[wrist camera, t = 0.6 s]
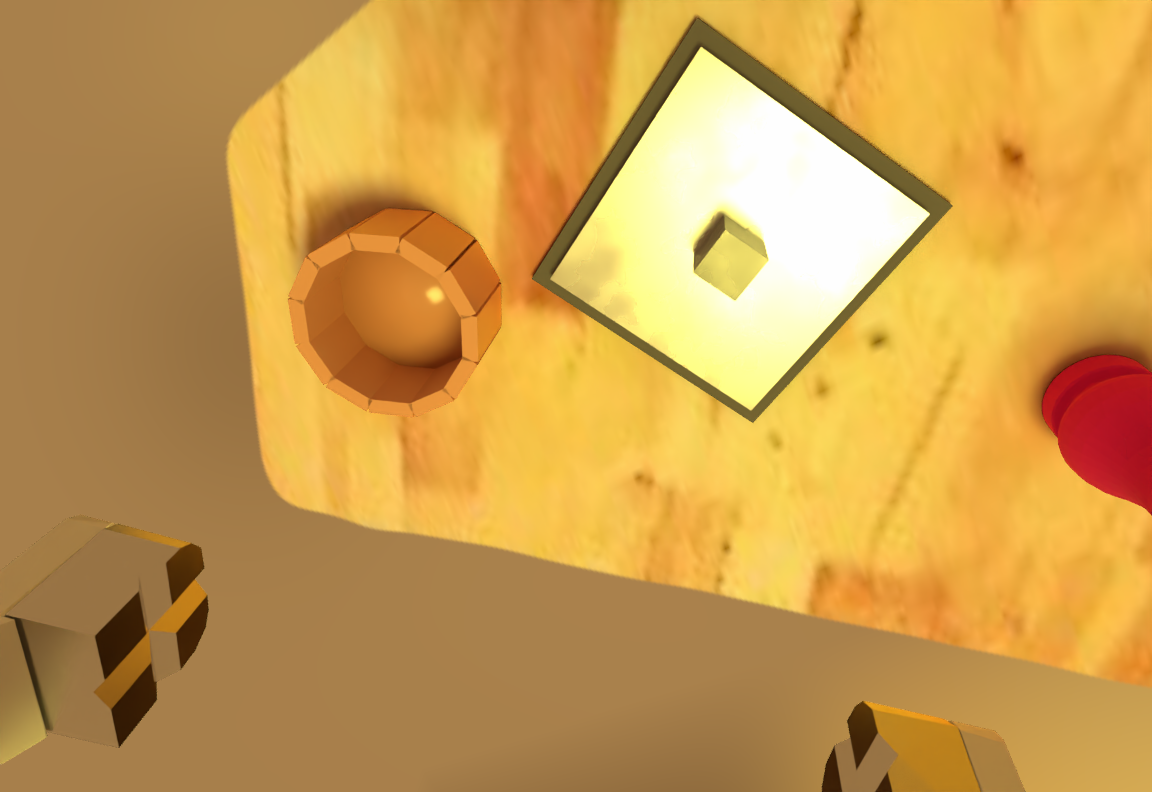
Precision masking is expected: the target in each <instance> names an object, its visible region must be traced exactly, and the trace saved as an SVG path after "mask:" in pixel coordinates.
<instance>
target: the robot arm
mask: <svg viewBox="0 0 1152 792" xmlns="http://www.w3.org/2000/svg"><path fill="white" fill-rule="evenodd" d="M203 569H204V562H203V556H202V550H201V547H199V546H197V545H194V544H192V543H189V542H185V541H181V540H178V539H174V538H170V537H166V536H162V535H159V534H155V533H151V532H147V531H144V530H140V529H136V528H132V527H129V526H125V525H121V524H115V523H111V522H107V521H103V520H99V519H95V518H91V517H88V516H84V515H77V516H74V517H71V518H67V519H65V520H63V521H62V522H61V523H60V524H58V525H57V526H56V527H54V528H53V529H52V530H51V531H49V532H48V533H47V534H46V535H44V536H43V537H42V538H41V539H39V540H38V541H37V542H36V543H34V544H33V545H32V546H31V547H29V548H28V549H27V550H26V551H24V552H23V553H22V554H21V555H20V556H18V557H17V558H16V559H14V560H13V561H12V562H11V563H9V564H8V565H7V566H5V567H4V568H3V569H2V570H0V765H1V764H3V763H4V762H6V761H8V760H9V759H11V758H13V757H14V756H16V755H18V754H20V753H21V752H23V751H25V750H26V749H28V748H30V747H31V746H33V745H34V744H36V743H38V742H40V741H41V740H43V739H45V738H46V737H47V736H48V735H47V732H48V733H53V734H57V735H62V736H66V737H71V738H76V739H80V740H85V741H89V742H94V743H98V744H103V745H107V746H112V747H116V748H119V747H120V746H121V745H122V744H123V742H124V741H125V740H126V739H127V737H128V736H129V735H130V734H131V732H132V731H133V730H134V729H135V727H136V726H137V725H138V724H139V722H140V721H141V720H142V718H143V717H144V716H145V715H146V713H147V712H148V711H149V710H150V708H151V707H152V706H153V705H154V703H155V702H156V700H157V682H158V681H159V680H162V679H164V678H166V677H167V676H170V675H172V674H174V673H176V672H178V671H179V670H181V669H182V668H183V666H184V665H185V664H186V662H187V661H188V660H189V658H190V657H191V656H192V654H193V653H194V652H195V650H196V648H197V646H198V643H199V641H200V639H201V637H202V635H203V632H204V630H205V628H206V623H207V617H208V611H209V608H208V596H207V594H206V593H205V591H204V590H203V589H202V588H201V586H200V585H199V584H198V583H197V581H196V580H195V578H196V577H197V576H198V575H199V574H200V573H201V572H202V570H203ZM847 723H848V728H849V734H850V738H849V739H847V740H844V741H843V742H840V743H838V744H836V745H835V746H834V747H833V750H832V752H831V754H830V756H829V758H828V760H827V763H826V766H825V772H824V777H823V783H822V792H1025V790H1024V787H1023V785H1022V782H1021V780H1020V778H1019V775H1018V773H1017V770H1016V768H1015V766H1014V764H1013V761H1012V758H1011V756H1010V754H1009V751H1008V749H1007V747H1006V744H1005V742H1004V740H1003V739H1002V738H1001V737H1000V736H999V734H997V732H996V731H994V730H989V729H985V728H981V727H976V726H972V725H968V724H963V723H959V722H954V721H947V720H945V719H942V718H938V717H933V716H929V715H924V714H920V713H915V712H911V711H906V710H902V709H898V708H893V707H888V706H884V705H879V704H875V703H871V702H866V701H862V702H860V703H859V704H858V705H856V706H855V707H854V709H853V711H852V713H851V715H850V716H849V718H848V720H847Z"/></svg>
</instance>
